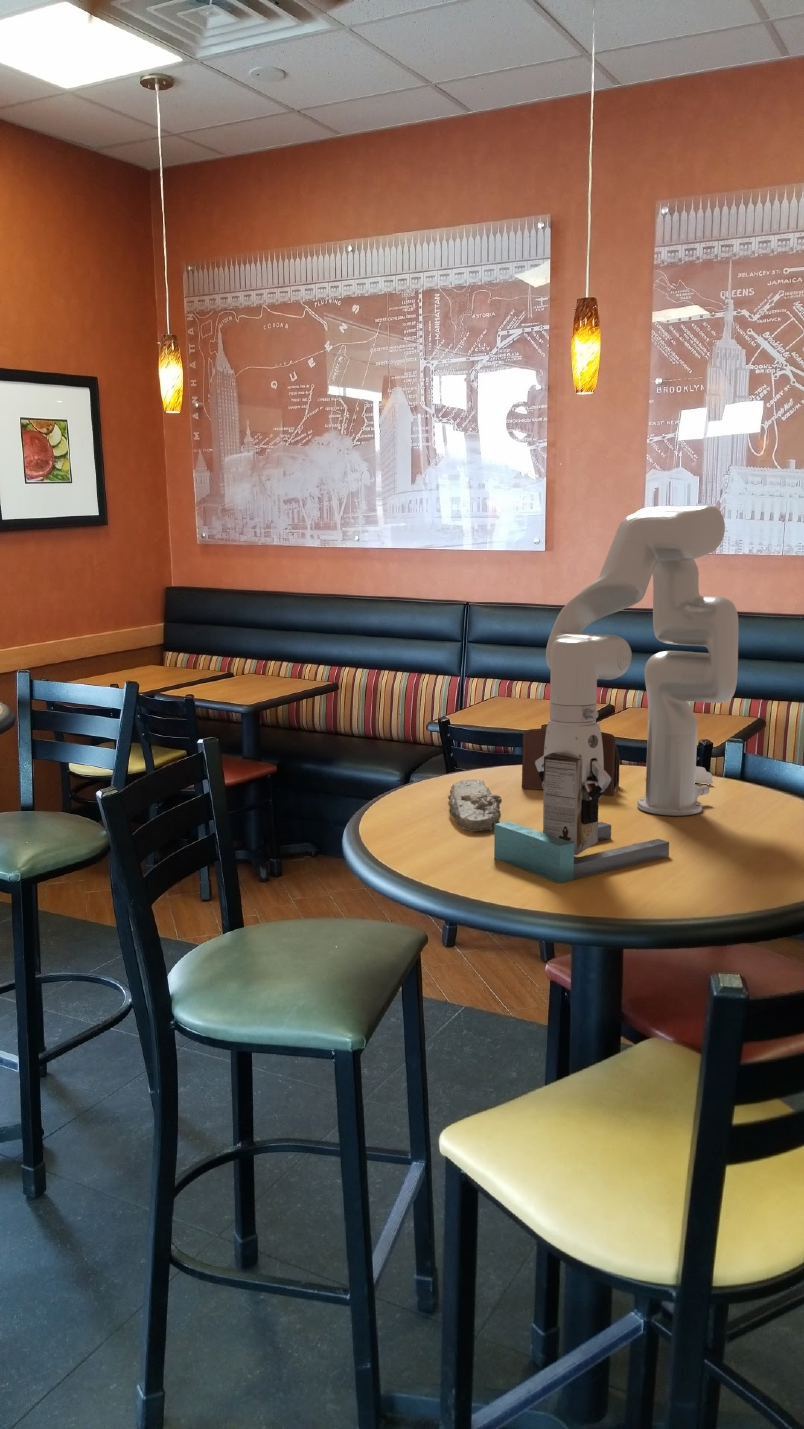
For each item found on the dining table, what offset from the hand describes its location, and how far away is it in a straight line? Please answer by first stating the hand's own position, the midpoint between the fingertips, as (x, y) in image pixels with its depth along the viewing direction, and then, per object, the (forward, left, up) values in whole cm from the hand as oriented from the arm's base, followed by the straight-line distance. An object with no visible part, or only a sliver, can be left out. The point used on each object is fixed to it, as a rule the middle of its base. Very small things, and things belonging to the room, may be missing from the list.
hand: (570, 816), depth 172 cm
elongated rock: (-7, -36, -8) cm, 37 cm away
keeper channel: (-3, 0, -8) cm, 8 cm away
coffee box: (0, 0, -5) cm, 5 cm away
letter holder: (-37, -39, -8) cm, 54 cm away
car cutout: (-60, -29, -8) cm, 67 cm away
